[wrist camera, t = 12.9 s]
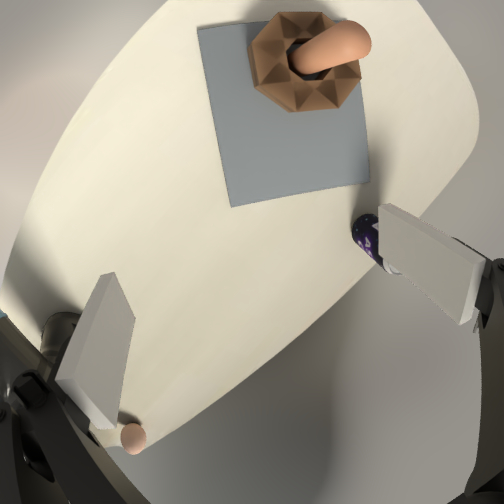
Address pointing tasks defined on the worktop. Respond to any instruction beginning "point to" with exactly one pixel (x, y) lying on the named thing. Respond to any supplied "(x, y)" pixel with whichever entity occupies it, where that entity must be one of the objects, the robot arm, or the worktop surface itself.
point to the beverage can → (371, 240)
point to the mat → (277, 128)
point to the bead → (288, 83)
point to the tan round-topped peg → (330, 49)
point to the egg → (133, 438)
